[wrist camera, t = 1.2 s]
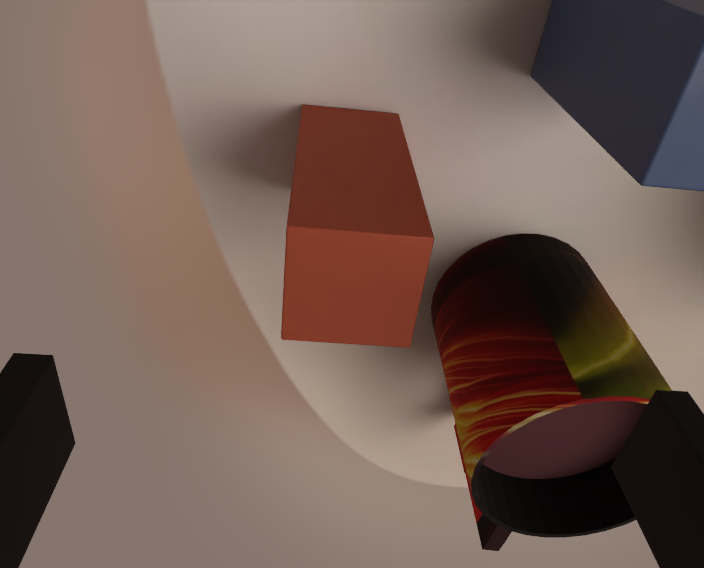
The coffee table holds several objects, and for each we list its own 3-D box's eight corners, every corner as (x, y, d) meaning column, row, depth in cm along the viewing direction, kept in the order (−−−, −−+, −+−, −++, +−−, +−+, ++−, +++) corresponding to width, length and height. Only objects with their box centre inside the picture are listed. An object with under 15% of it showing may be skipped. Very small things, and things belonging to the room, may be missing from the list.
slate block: (561, -37, 20) (713, 19, 12) (666, -24, 21) (881, 39, 13) (529, 76, 23) (640, 186, 15) (624, 86, 23) (783, 199, 15)
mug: (451, 416, 34) (491, 592, 26) (417, 255, 28) (455, 422, 19) (592, 390, 33) (681, 564, 25) (593, 216, 27) (715, 374, 18)
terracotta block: (302, 103, 23) (286, 226, 15) (399, 113, 23) (434, 238, 15) (296, 192, 25) (281, 340, 17) (385, 200, 26) (410, 348, 18)
